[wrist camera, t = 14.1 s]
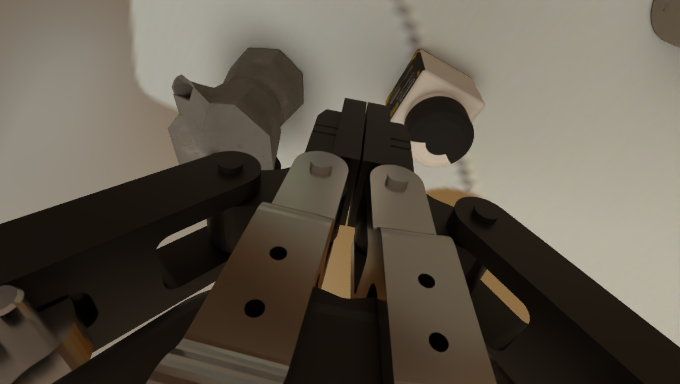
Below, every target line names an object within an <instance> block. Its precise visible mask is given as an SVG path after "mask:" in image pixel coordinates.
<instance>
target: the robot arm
mask: <svg viewBox="0 0 680 384" xmlns="http://www.w3.org/2000/svg"><path fill="white" fill-rule="evenodd" d="M651 20H652V26H653V28H654V31H655V33H656V34H657V35H658V36H659V37H660V38H661V39H662V40H664V41H666V42H668V43H670V44H672V45H675V46H677V47H679V48H680V0H654V3H653V6H652V14H651ZM366 103H367V102H364V101H359V100H354V99H349V98H345V100H344V105H343V109H342V112H338V111H332V110H325V111H324V112H322V113H321V114H319V115H318V116H317V119H316V122H315V125H314V128H313V131H312V133H311V136H310V139H309V142H308V145H307V148H306V151H305V153H303V154H301V155H299V156H298V157H297V158H296V159H295V160H294V162H293V164H292V166H291V167H290V168H286V169H280V170H261V164H260V162H259V161H258V160H257V159H256V158H255V157H253V156H252V155H250V154H247V153H244V152H239V151H223V152H218V153H214V154H211V155H208V156H205V157H202V158H199V159H196V160H193V161H190V162H187V163H184V164H181V165H178V166H175V167H172V168H169V169H166V170H163V171H160V172H157V173H154V174H151V175H148V176H145V177H142V178H138V179H135V180H133V181H129V182H126V183H123V184H121V185H118V186H114V187H111V188H108V189H105V190H102V191H99V192H96V193H93V194H90V195H87V196H84V197H81V198H78V199H75V200H72V201H69V202H66V203H63V204H60V205H57V206H54V207H51V208H47V209H44V210H42V211H38V212H35V213H32V214H29V215H26V216H23V217H20V218H17V219H14V220H11V221H8V222H5V223H2V224H0V384H680V347H679V346H677V345H676V344H675V343H673V342H672V341H671V340H670V339H668V338H667V337H666V336H665V335H663V334H662V333H661V332H659V331H658V330H657V329H656V328H654V327H653V326H652V325H650V324H649V323H648V322H647V321H645V320H644V319H643V318H641V317H640V316H639V315H638V314H636V313H635V312H634V311H632V310H631V309H630V308H629V307H627V306H626V305H625V304H624V303H622V302H621V301H620V300H618V299H617V298H616V297H615V296H613V295H612V294H611V293H609V292H608V291H607V290H606V289H604V288H603V287H602V286H600V285H599V284H598V283H597V282H595V281H594V280H593V279H591V278H590V277H589V276H588V275H586V274H585V273H584V272H583V271H581V270H580V269H579V268H577V267H576V266H575V265H574V264H572V263H571V262H570V261H568V260H567V259H566V258H565V257H563V256H562V255H561V254H559V253H558V252H557V251H556V250H554V249H553V248H552V247H550V246H549V245H548V244H547V243H545V242H544V241H543V240H542V239H540V238H539V237H538V236H536V235H535V234H534V233H533V232H531V231H530V230H529V229H527V228H526V227H525V226H524V225H522V224H521V223H520V222H518V221H517V220H516V219H515V218H513V217H512V216H511V215H509V214H508V213H507V212H506V211H504V210H503V209H502V208H500V207H499V206H498V205H496V204H494V203H492V202H490V201H488V200H485V199H482V198H478V197H464V198H461V199H459V200H458V201H457V202H456V204H455V206H454V207H452V206H450V205H448V204H445V203H443V202H440V201H438V200H436V199H434V198H432V197H430V196H429V195H427V194H426V191H425V187H424V184H423V181H422V180H421V178H420V177H419V176H418V175H416V174H415V173H414V167H413V158H412V151H411V139H410V132H409V131H408V130H407V129H406V127H405V126H404V125H403V124H400V123H395V122H390V106H385V105H380V104H375V103H370V102H368V105H367V109H366ZM365 112H366V114H365ZM349 206H350V209H349ZM348 211H349V217H348V225H347V226H350V227H355V235H354V239H353V243H352V247H351V299H346V298H341V297H339V296H336V295H334V294H332V293H329V292H327V291H325V290H322V289H321V288H322V284H323V280H324V276H325V273H326V269H327V265H328V261H329V258H330V254H331V251H332V247H333V242H334V239H335V238H336V237H337V234H338V230H339V226H340V225H344V226H345V224H346V219H347V215H348ZM205 219H207V226H206V227H203V228H201V229H199V230H197V231H195V232H193V233H191V234H188V235H186V236H184V237H182V238H180V239H178V240H175V241H173V242H171V243H169V244H167V245H165V246H163V247H160V248H158V249H156V248H157V246H158V245H159V243H160V242H161V241H162V240H164V239H165V238H166V237H168V236H170V235H172V234H174V233H176V232H178V231H180V230H183V229H185V228H187V227H189V226H192V225H194V224H196V223H198V222H200V221H202V220H205ZM487 269H488V270H489V271H490V272H491V273H492V274H493V275H494V276H495V277H496V278H497V279H498V280H499V281H500V282H501V283H502V284H504V285H505V286H506V287H507V288H508V289H509V290H510V291H511V292H512V293H513V294H514V295H515V296H516V297H517V298H518V299H519V300H520V301H522V303H524V305H525V306H526V308H527V310H528V312H529V315H530V322H529V324H527V323H525V322H524V321H522V320H521V319H520V318H519V317H518V316H517V315H516V314H515V313H514V312H513V311H512V310H511V309H510V308H509V307H508V306H507V305H506V304H505V303H504V302H503V301H502V300H501V299H500V298H499V297H498V296H497V295H495V294H494V293H493V292H492V291H491V290H490V289H489V288H488V287H487V286H486V285H485V284H484V283H483V282H482V281H481V280H480V279H481V278H482V276H483V275H484V273H485V272H486V270H487ZM215 281H216V282H215ZM213 282H215V283H214V285H213V287H212V289H211V290H208V291H205V292H203V293H200V294H198V295H196V296H193V297H191V298H189V299H187V300H185V301H184V302H182V303H180V304H179V305H177V306H175V307H174V308H172V309H170V310H169V311H167V312H166V313H164V314H162V315H161V316H159V317H158V318H156V319H154V320H153V321H151V322H150V323H148V324H147V325H145V326H143V327H142V328H140V329H138V330H137V331H135V332H134V333H132V334H131V335H129V336H127V337H126V338H124V339H122V340H121V341H119V342H117V343H116V344H114V345H113V346H111V347H110V348H108V349H106V350H105V351H103V352H102V353H100V354H98V355H97V356H95V357H93V358H92V359H90V358H91V355H92V353H93V352H95V351H96V350H98V349H99V348H101V347H103V346H105V345H107V344H108V343H110V342H112V341H113V340H115V339H117V338H119V337H120V336H122V335H124V334H125V333H127V332H129V331H131V330H132V329H134V328H136V327H138V326H139V325H141V324H143V323H144V322H146V321H148V320H149V319H151V318H153V317H155V316H156V315H158V314H160V313H162V312H163V311H165V310H167V309H168V308H170V307H172V306H174V305H175V304H177V303H178V302H180V301H182V300H184V299H186V298H187V297H189V296H191V295H193V294H194V293H196V292H198V291H199V290H201V289H203V288H205V287H206V286H208V285H210V284H211V283H213Z"/></svg>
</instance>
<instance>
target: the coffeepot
mask: <svg viewBox="0 0 680 384" xmlns="http://www.w3.org/2000/svg"><path fill="white" fill-rule="evenodd" d="M172 89H173V92H174V94H173V95H174V98H175V101H176V105H177V108H178V111H179V115H178V116H177V117H176V119H175V120H174V121H173V122H172V124H171V125H170V126H169V127H168V130H169V134H170V137H171V140H172V143H173V147H174V150H175V153H176V156H177V159H178V162H179V164H180V165H181V164H184V163H187V162H190V161H193V160H196V159H199V158H202V157H205V156H208V155H211V154H214V153H218V152H223V151H239V152H244V153H247V154H250V155H252V156H253V157H255V158H256V159H257V160H258V161H259V162H260V164H261V170H280V169H281V163H280V161H279V160H278V158H277V157H276V156H277V150H278V145H279V139H280V134H281V125H282V124H283V123H284V122H285V121H286V120H287V119H288V118H289V117H290V116H291V115H292V114H293V113H294V112H295V111H296V110H297V109H298V108H299V107H300V106H301V105H302V104H303V77H302V73H301V72H300V71H299V70H298V69H297V67H296V66H295V65H294V64H293V62H292V61H291V60H289V59H288V58H287V57H286V56H285V55H284V54H283V53H282V52H281V51H280V50H273V49H266V48H258V49H256V48H248V49H247V50H246V51H245V52H244V53H243V54H242V55H241V57H240V58H239V59H238V60H237V61H236V62H235V64H234V65H233V66H232V67H231V68H230V70H229V72H228V74H227V76H226V78H225V81H224V83H223V84H221V85H219V86H217V87H215V88H212V87H208V86H204V85H201V84H197V83H194V82H191V81H189V80H188V79H186V78H185V77H184V76H183V75H180V76H178V77H176V78H175V80H174V82H173V85H172Z"/></svg>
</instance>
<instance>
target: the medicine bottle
mask: <svg viewBox="0 0 680 384" xmlns="http://www.w3.org/2000/svg"><path fill="white" fill-rule="evenodd" d="M386 106H390V122H395V123H400V124H403V125H404V126H405V127H406V129H407V130H408V131H409V132H410V139H411V151H412V158H413V159H414V160H415V161H417V162H418V163H420V164H423V165H426V166H431V167H440V166H446V165H449V164H452V163H454V162H456V161H458V160H459V159H460V158H462V157H463V156H464V155H465V154H466V153H467V152H468V150H469V149H470V147H471V145H472V143H473V139H474V129H473V125H472V123H471V122H472V121H473V120H474V119H475V118H476V116H477V115H478V114H479V113H480V111H481V110H482V109H483V108H484V106H485V103H484V101H483V99H482V97H481V95H480V93H479V91H478V90H477V88H476V86H475V84H474V82H473V80H472V79H471V78H470V77H468V76H467V75H465V74H463V73H461V72H460V71H458V70H456V69H454V68H453V67H451V66H449V65H447V64H446V63H444V62H442V61H440V60H439V59H437V58H435V57H433V56H432V55H430V54H428V53H426V52H425V51H423V50H418V51H417V52H416V53H415V55H414V57H413V58H412V60H411V61H410V63H409V65H408V66H407V68H406V70H405V71H404V73H403V74H402V76H401V78H400V79H399V81H398V82H397V84H396V86H395V87H394V89H393V91H392V92H391V94H390V95H389V97H388V99H387V100H386Z"/></svg>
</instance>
